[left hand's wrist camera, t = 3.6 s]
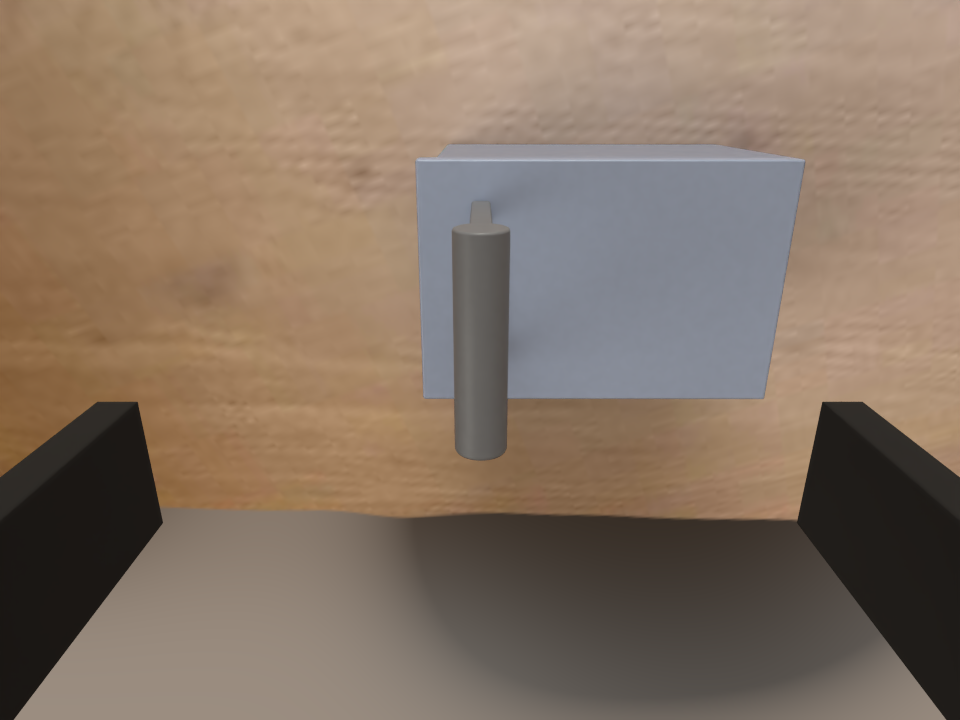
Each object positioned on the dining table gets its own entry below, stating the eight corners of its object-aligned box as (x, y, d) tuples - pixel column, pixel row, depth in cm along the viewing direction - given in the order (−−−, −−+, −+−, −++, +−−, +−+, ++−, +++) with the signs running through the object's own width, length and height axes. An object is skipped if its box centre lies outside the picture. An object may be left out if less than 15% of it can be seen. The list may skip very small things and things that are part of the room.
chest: (450, 325, 36) (441, 389, 28) (447, 144, 33) (436, 157, 24) (693, 325, 36) (754, 389, 28) (715, 144, 33) (793, 157, 24)
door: (425, 389, 28) (404, 498, 20) (417, 157, 24) (388, 181, 17) (755, 389, 28) (860, 499, 20) (794, 157, 24) (939, 181, 17)
